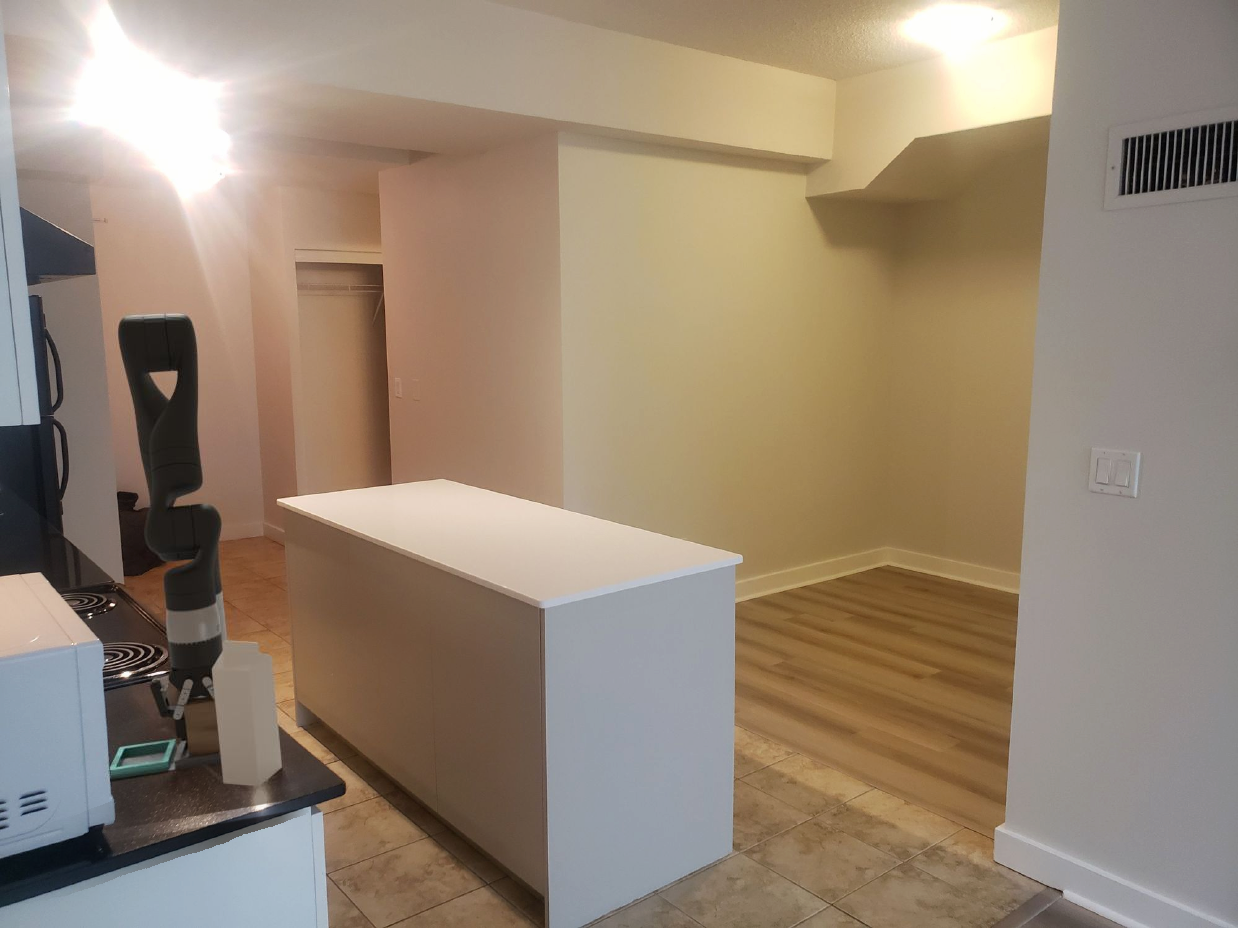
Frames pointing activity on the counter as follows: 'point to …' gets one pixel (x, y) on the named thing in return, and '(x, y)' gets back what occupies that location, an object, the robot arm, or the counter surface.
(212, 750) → the walnut block
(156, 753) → the trays
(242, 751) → the milk
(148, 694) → the counter surface
